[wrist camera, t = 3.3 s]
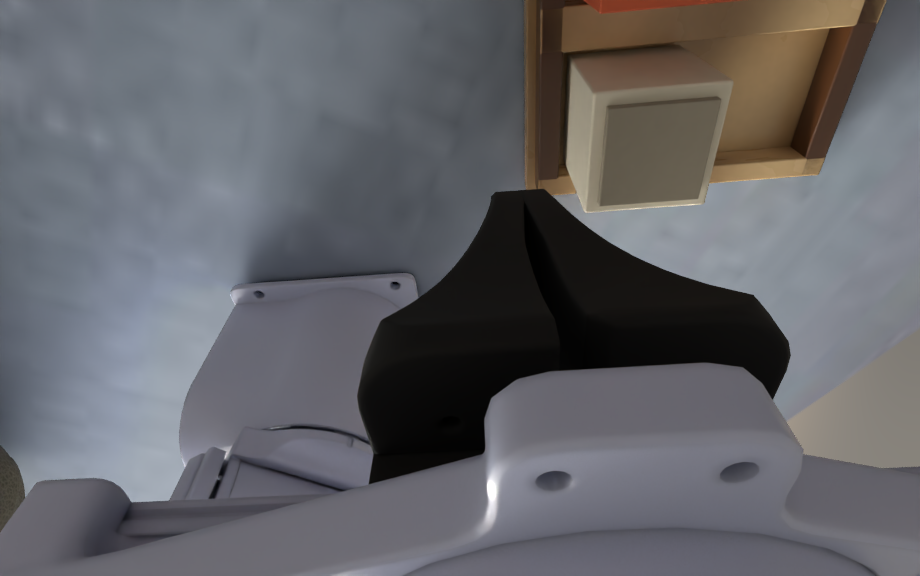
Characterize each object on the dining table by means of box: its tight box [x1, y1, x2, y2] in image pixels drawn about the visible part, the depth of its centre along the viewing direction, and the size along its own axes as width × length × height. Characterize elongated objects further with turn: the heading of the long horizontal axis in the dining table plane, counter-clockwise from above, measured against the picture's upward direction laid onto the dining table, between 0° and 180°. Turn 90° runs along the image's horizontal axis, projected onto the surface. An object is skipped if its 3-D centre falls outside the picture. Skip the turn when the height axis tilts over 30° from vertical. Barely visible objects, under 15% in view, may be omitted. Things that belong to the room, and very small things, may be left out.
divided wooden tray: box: [524, 0, 887, 195], centre depth 17 cm, size 12×13×2 cm
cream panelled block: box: [563, 45, 733, 213], centre depth 17 cm, size 4×4×5 cm
